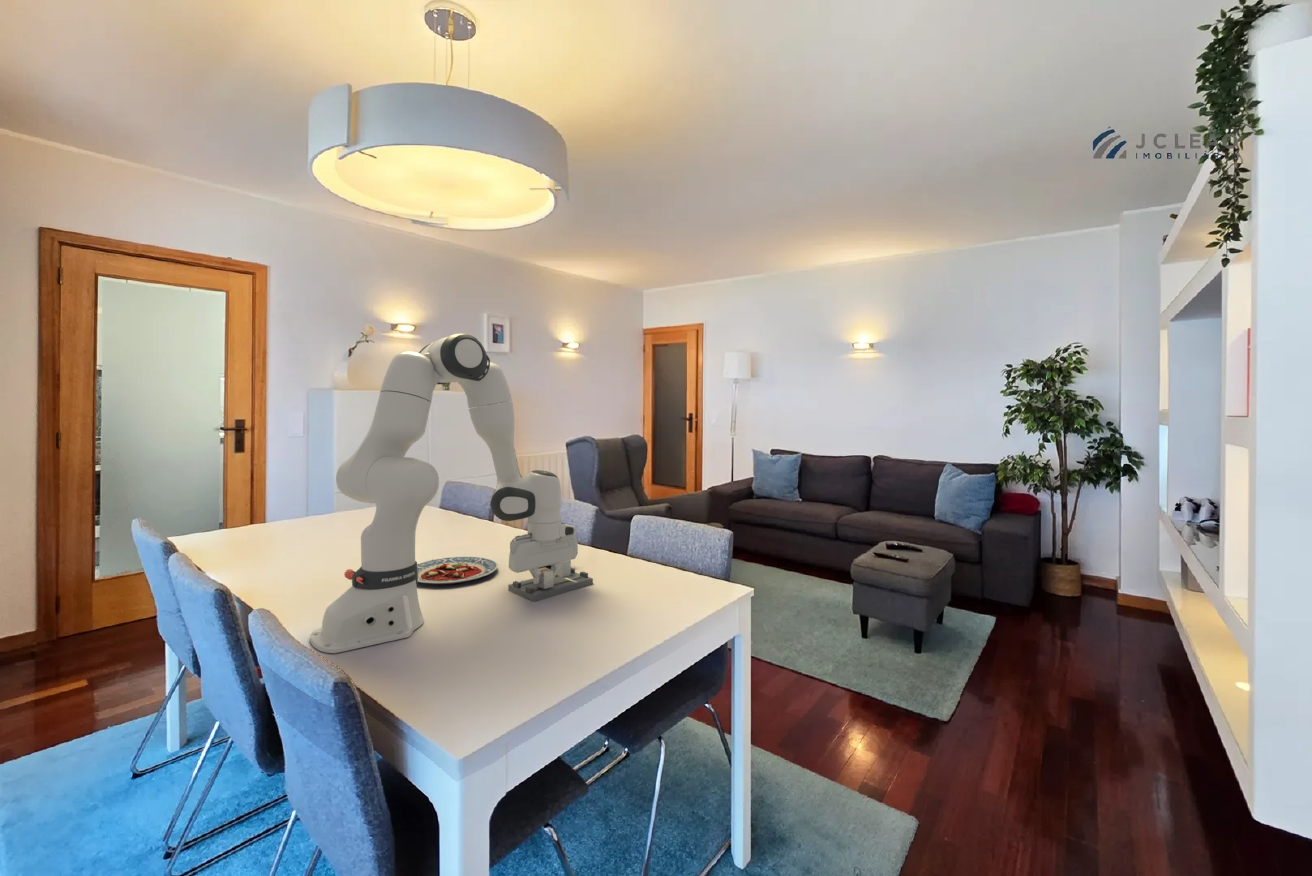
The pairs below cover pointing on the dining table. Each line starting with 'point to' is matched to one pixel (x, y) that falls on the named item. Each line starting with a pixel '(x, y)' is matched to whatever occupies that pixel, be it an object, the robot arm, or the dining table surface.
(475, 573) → the ceramic plate
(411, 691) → the dining table surface
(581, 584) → the grey slider board
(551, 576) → the block
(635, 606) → the dining table surface
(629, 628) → the dining table surface
